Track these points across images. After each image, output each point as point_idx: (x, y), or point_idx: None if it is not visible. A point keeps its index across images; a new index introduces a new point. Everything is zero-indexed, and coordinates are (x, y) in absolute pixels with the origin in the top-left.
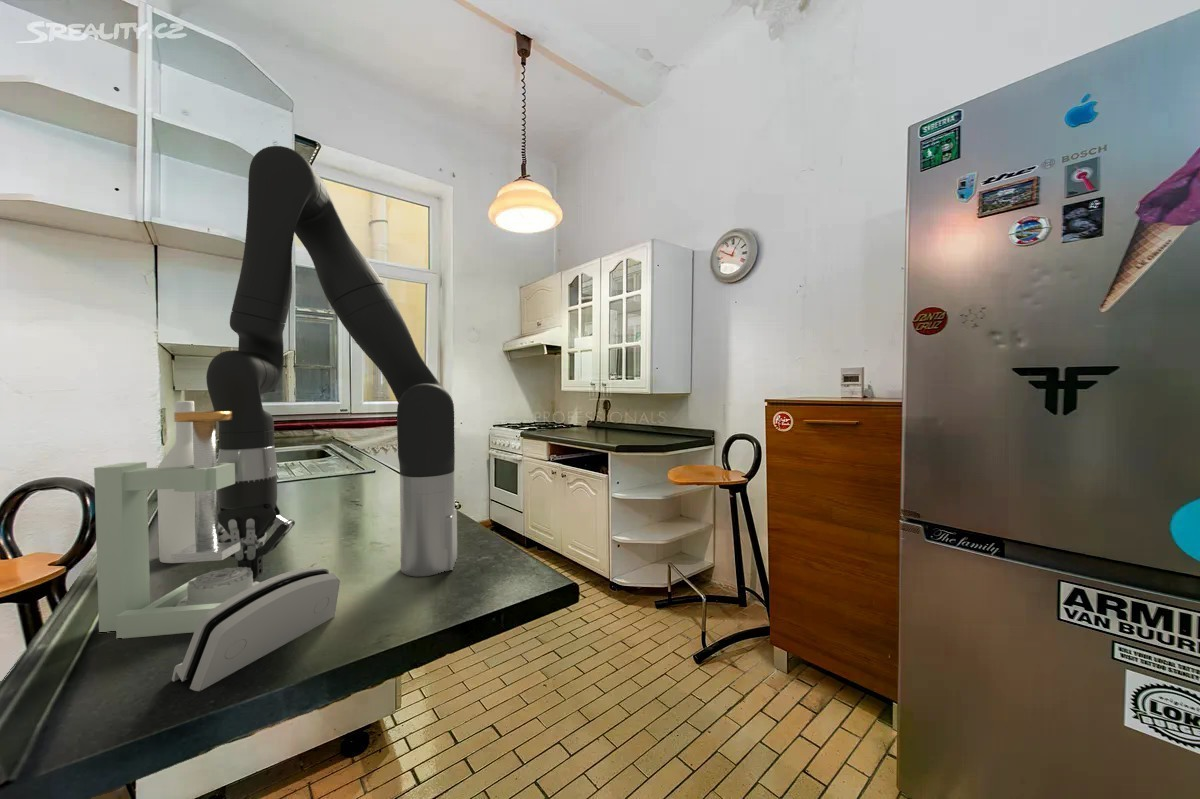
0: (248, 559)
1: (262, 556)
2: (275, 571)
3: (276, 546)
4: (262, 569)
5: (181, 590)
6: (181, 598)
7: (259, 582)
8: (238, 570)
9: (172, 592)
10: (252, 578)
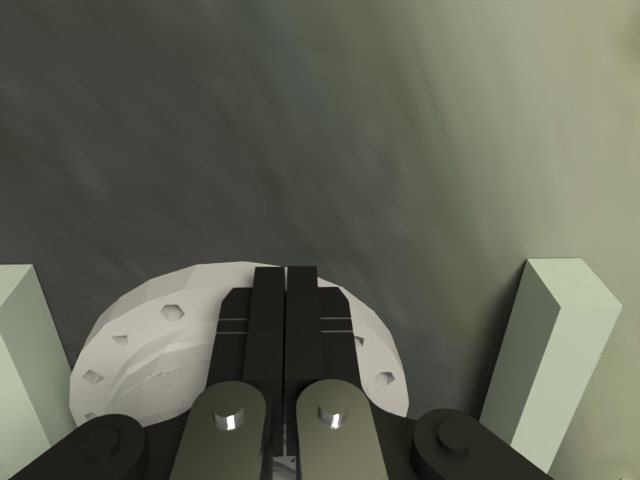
0: (290, 441)
1: (361, 385)
2: (313, 26)
3: (495, 436)
4: (349, 309)
5: (39, 446)
6: (69, 426)
7: (355, 320)
8: (283, 468)
9: (16, 460)
10: None
